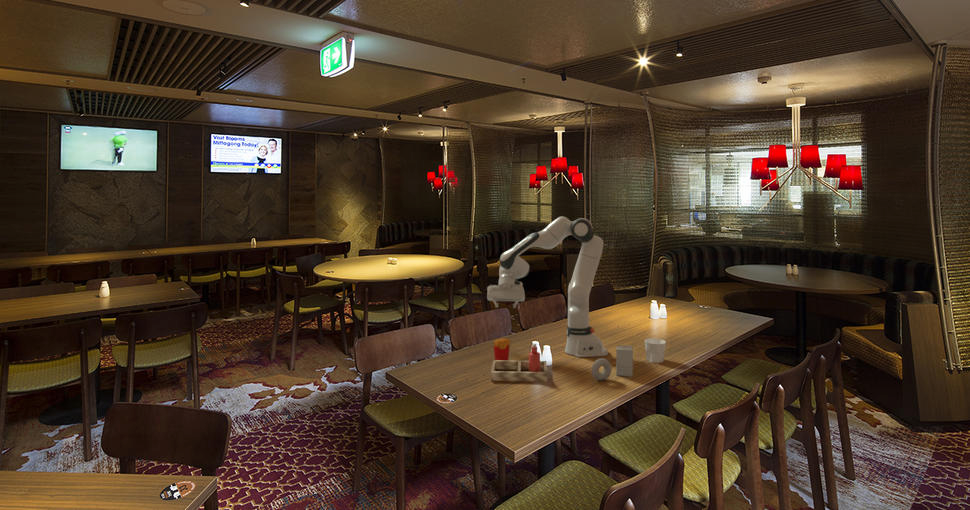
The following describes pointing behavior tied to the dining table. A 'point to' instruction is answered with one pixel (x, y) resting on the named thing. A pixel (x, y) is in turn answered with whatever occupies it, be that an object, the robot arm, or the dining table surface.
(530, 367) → the ketchup bottle
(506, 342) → the french fries
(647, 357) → the cup
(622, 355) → the supplement box
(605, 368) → the donut
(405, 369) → the dining table surface
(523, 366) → the caddy
